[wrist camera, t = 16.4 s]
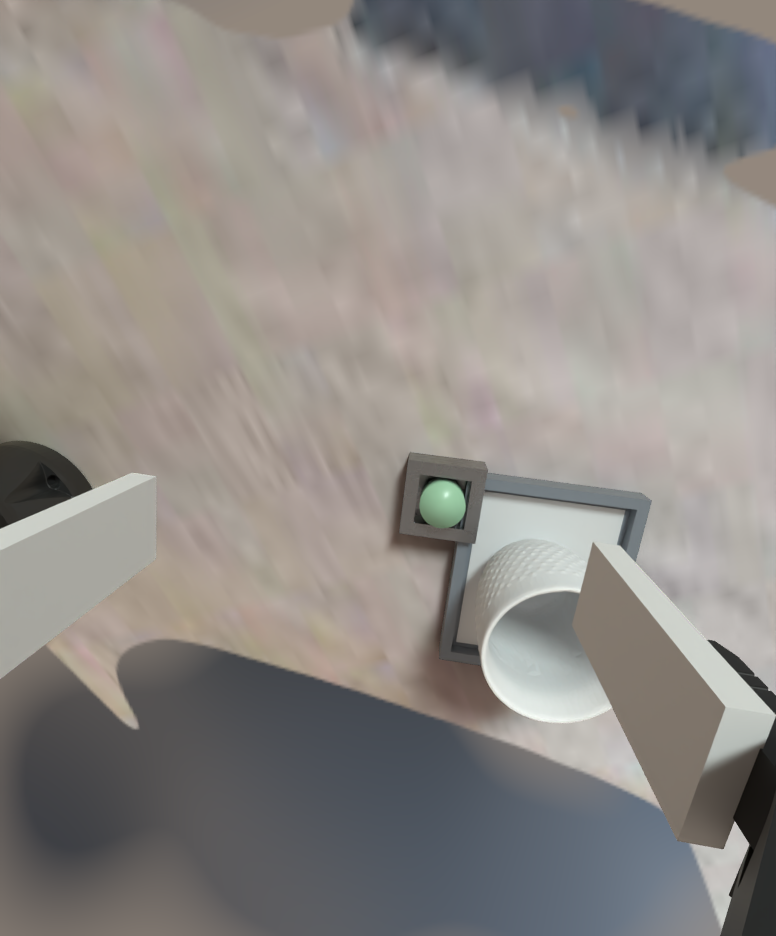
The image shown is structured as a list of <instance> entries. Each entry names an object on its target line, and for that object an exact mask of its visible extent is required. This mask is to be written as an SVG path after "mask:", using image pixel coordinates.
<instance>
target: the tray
mask: <svg viewBox="0 0 776 936" xmlns="http://www.w3.org/2000/svg"><path fill="white" fill-rule="evenodd" d="M470 484H471V481H466V486H465V492H464V499H465V504H466V509H467V503H468V497H469V491H470ZM650 505H651V500H650V499H649V498H647V497H646V496H645V495H643V494H642V493H636V492H628V491H621V490H613V489H606V488H598V487H590V486H583V485H575V484H568V483H560V482H552V481H545V480H537V479H529V478H522V477H514V476H507V475H499V474H491V473H487V478H486V484H485V490H484V496H483V502H482V508H481V514H480V520H479V525H478V531H477V537H476V543H475V544H471V543H464V542H457V541H456V543H455V549H454V555H453V562H452V568H451V574H450V581H449V587H448V593H447V600H446V606H445V612H444V619H443V625H442V631H441V638H440V644H439V659H442V660H448V661H455V662H461V663H467V664H474V665H480V666H481V661H480V654H479V650H478V641H477V632H476V622H475V617H476V614H475V606H476V605H475V600H476V591H477V589H478V583H479V581H480V577H481V575H482V574H483V570H484V569H485V567H486V565H487V563H488V562H489V561H490V559H491V558H492V556H493V555H495V553H496V552H497V551H499V550H500V549H502V548H503V547H504V546H506V545H508V544H510V543H512V542H515V541H519V540H524V539H541V540H547V541H549V542H554V543H556V544H557V545H561V546H563V547H564V548H566V549H568V550H570V551H571V552H572V553H574V554H576V555H578V556H579V558H580V559H582V560H584V561H585V562H586V563H588V559H589V555H590V551H591V547H592V543H593V542H599V543H606V544H613V545H619V546H621V547H622V548H623V550H624V551H625V552H626V553H627V554H628V555H629V556H630V557H631V558H632V559H633V560H634V561H635V562H636V558H637V555H638V551H639V547H640V543H641V539H642V536H643V532H644V528H645V524H646V520H647V517H648V513H649V509H650ZM466 509H465V513H464V516H463V518H462V519H461V520H460V526H462V527H464V522H465V515H466Z"/></svg>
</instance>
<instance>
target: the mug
mask: <svg viewBox="0 0 776 936" xmlns="http://www.w3.org/2000/svg"><path fill="white" fill-rule="evenodd" d="M586 567H587V563H586V562H585V561H584V560H582V559H580V558H579V556H578V555H576V554H574V553H572V552H571V551H570V550H568V549H566V548H564V547H563V546H561V545H557V544H556V543H554V542H549V541H547V540H541V539H524V540H519V541H515V542H512V543H510V544H508V545H506V546H504V547H503V548H502V549H500V550H499V551H497V552H496V553H495V555H493V556H492V558H491V559H490V561H489V562H488V563H487V565H486V567H485V569H484V570H483V574H482V575H481V577H480V581H479V583H478V589H477V591H476V600H475V605H476V606H475V614H476V617H475V622H476V632H477V641H478V650H479V654H480V661H481V667H482V671H483V674H484V677H485V679H486V682H487V683H488V685H489V687H490V689H491V690H492V692H493V693H494V694H495V695H496V697H497V698H498V699H499V700H500V701H501V702H502V703H504V704H505V705H506V706H507V707H509V708H510V709H511V710H513V711H515V712H516V713H518V714H520V715H522V716H524V717H527V718H530V719H533V720H536V721H541V722H546V723H574V722H579V721H584V720H587V719H591V718H594V717H596V716H599V715H601V714H603V713H604V712H606V711H608V710H610V709H611V708H612V706H611V704H610V702H609V700H608V698H607V696H606V694H605V692H604V690H603V688H602V686H601V684H600V682H599V680H598V677H597V675H596V673H595V671H594V669H593V667H592V665H591V663H590V661H589V659H588V657H587V655H586V653H585V651H584V649H583V647H582V645H581V643H580V641H579V639H578V637H577V635H576V633H575V630H574V628H573V626H572V623H573V619H574V615H575V611H576V607H577V603H578V599H579V595H580V591H581V587H582V583H583V579H584V575H585V571H586Z"/></svg>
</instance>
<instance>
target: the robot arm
mask: <svg viewBox="0 0 776 936" xmlns="http://www.w3.org/2000/svg"><path fill="white" fill-rule="evenodd" d="M155 559H156V476H151V475H144V474H137V473H130V474H128V475H126V476H123V477H121V478H119V479H116V480H114V481H112V482H109V483H107V484H105V485H102V486H100V487H97V488H95V489H93V490H92V488H91V486H90V484H89V483H88V481H87V480H86V478H85V477H84V476H83V474H82V473H81V472H80V471H79V470H78V469H77V467H76V466H75V465H73V464H72V463H71V462H70V461H69V460H68V459H66V458H65V457H64V456H62V455H61V454H59V453H58V452H56V451H54V450H52V449H50V448H48V447H46V446H43V445H40V444H37V443H33V442H27V441H10V442H5V443H0V679H1V678H2V677H4V676H5V675H6V674H8V673H9V672H10V671H12V670H13V669H14V668H15V667H17V666H18V665H19V664H20V663H22V662H23V661H24V660H26V659H27V658H28V657H30V656H31V655H32V654H34V653H35V652H36V651H37V650H38V649H40V648H41V647H43V646H44V645H45V644H47V643H48V642H49V641H50V640H52V639H53V638H54V637H56V636H57V635H58V634H59V633H61V632H62V631H63V630H65V629H66V628H67V627H69V626H70V625H71V624H72V623H74V622H75V621H76V620H78V619H79V618H80V617H81V616H83V615H84V614H85V613H87V612H88V611H89V610H91V609H92V608H93V607H94V606H96V605H97V604H98V603H100V602H101V601H102V600H104V599H105V598H106V597H107V596H109V595H110V594H111V593H113V592H114V591H115V590H116V589H118V588H119V587H120V586H122V585H123V584H124V583H126V582H127V581H128V580H129V579H131V578H132V577H133V576H135V575H136V574H137V573H138V572H140V571H141V570H142V569H144V568H145V567H146V566H148V565H149V564H150V563H151V562H153V561H154V560H155ZM572 626H573V628H574V630H575V633H576V635H577V637H578V639H579V641H580V643H581V645H582V647H583V649H584V651H585V653H586V655H587V657H588V659H589V661H590V663H591V665H592V667H593V669H594V671H595V673H596V675H597V677H598V680H599V682H600V684H601V686H602V688H603V690H604V692H605V694H606V696H607V698H608V700H609V702H610V704H611V706H612V708H613V710H614V712H615V714H616V716H617V718H618V720H619V722H620V724H621V727H622V729H623V731H624V733H625V735H626V737H627V739H628V741H629V743H630V745H631V747H632V749H633V751H634V753H635V755H636V757H637V759H638V761H639V763H640V765H641V767H642V769H643V771H644V774H645V776H646V778H647V780H648V782H649V784H650V786H651V788H652V790H653V792H654V794H655V796H656V798H657V800H658V802H659V804H660V806H661V808H662V810H663V812H664V814H665V816H666V818H667V820H668V822H669V824H670V827H671V829H672V831H673V833H674V835H675V837H676V839H677V841H681V842H686V843H692V844H697V845H703V846H708V847H714V848H719V849H724V846H725V844H726V841H727V839H728V836H729V834H730V831H731V829H732V826H733V824H734V821H735V822H736V823H737V825H738V827H739V828H740V830H741V831H742V833H743V835H744V836H745V838H746V839H747V841H748V842H749V844H750V845H749V847H748V850H747V852H746V854H745V857H744V859H743V862H742V864H741V867H740V869H739V871H738V874H737V876H736V879H735V881H734V884H733V886H732V888H731V891H730V893H729V896H730V897H732V898H731V902H730V905H729V908H728V912H727V915H726V918H725V922H724V925H723V928H722V932H721V935H720V936H776V695H775V694H774V693H773V692H772V691H768V687H767V686H766V685H765V684H764V683H763V682H762V681H761V680H760V679H759V678H758V677H755V676H754V673H753V672H752V671H751V670H750V669H749V668H748V667H747V666H746V664H745V663H744V662H743V661H742V660H741V659H740V658H739V657H738V656H736V655H735V654H733V653H732V652H730V651H729V650H727V649H726V648H724V647H723V646H721V645H720V644H718V643H717V642H715V641H712V640H706V639H705V637H704V636H703V635H702V634H701V633H700V632H699V631H698V630H697V629H696V628H695V627H694V626H693V624H692V623H691V622H690V621H689V620H688V619H687V618H686V617H685V616H684V615H683V614H682V613H681V611H680V610H679V609H678V608H677V607H676V606H675V605H674V604H673V603H672V602H671V601H670V599H669V598H668V597H667V596H666V595H665V594H664V593H663V592H662V591H661V590H660V589H659V588H658V586H657V585H656V584H655V583H654V582H653V581H652V580H651V579H650V578H649V577H648V576H647V575H646V573H645V572H644V571H643V570H642V569H641V568H640V567H639V566H638V565H637V564H636V563H635V561H634V560H633V559H632V558H631V557H630V556H629V555H628V554H627V553H626V552H625V551H624V550H623V548H622V547H621V546H619V545H613V544H606V543H599V542H593V543H592V547H591V551H590V555H589V559H588V563H587V567H586V571H585V575H584V579H583V583H582V587H581V591H580V595H579V599H578V603H577V607H576V611H575V615H574V619H573V623H572Z"/></svg>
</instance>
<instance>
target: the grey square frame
mask: <svg viewBox="0 0 776 936" xmlns="http://www.w3.org/2000/svg"><path fill="white" fill-rule="evenodd" d="M487 472H488V469H487V467H486V464H485V462H480V461H472V460H465V459H457V458H449V457H442V456H434V455H426V454H419V453H411V452H410V455H409V459H408V466H407V474H406V482H405V490H404V498H403V506H402V514H401V522H400V530H399V533H401V534H408V535H415V536H422V537H429V538H436V539H443V540H450V541H457V542H464V543H471V544H475V543H476V537H477V531H478V525H479V520H480V514H481V508H482V502H483V496H484V490H485V484H486V478H487ZM436 478H448V479H451V480H453V481H455V482H456V483H457V484H458V485H459V486H460V487H461V489H462V491H463V493H464V492H465V486H466V481H471V484H470V491H469V497H468V503H467V509H466V515H465V522H464V527H462V526H460V521H459V522H458V523H457V524H456V525H454V526H452V527H449V528H436V527H433V526H431V525H430V524H428V523H427V522H426V521H425V520H424V519H423V517H422V515H421V513H420V507H419V506H420V496H421V492H422V489H423V488H424V486H425V485H426V484H427V483H428V482H430V481H431V480H433V479H436Z"/></svg>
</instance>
